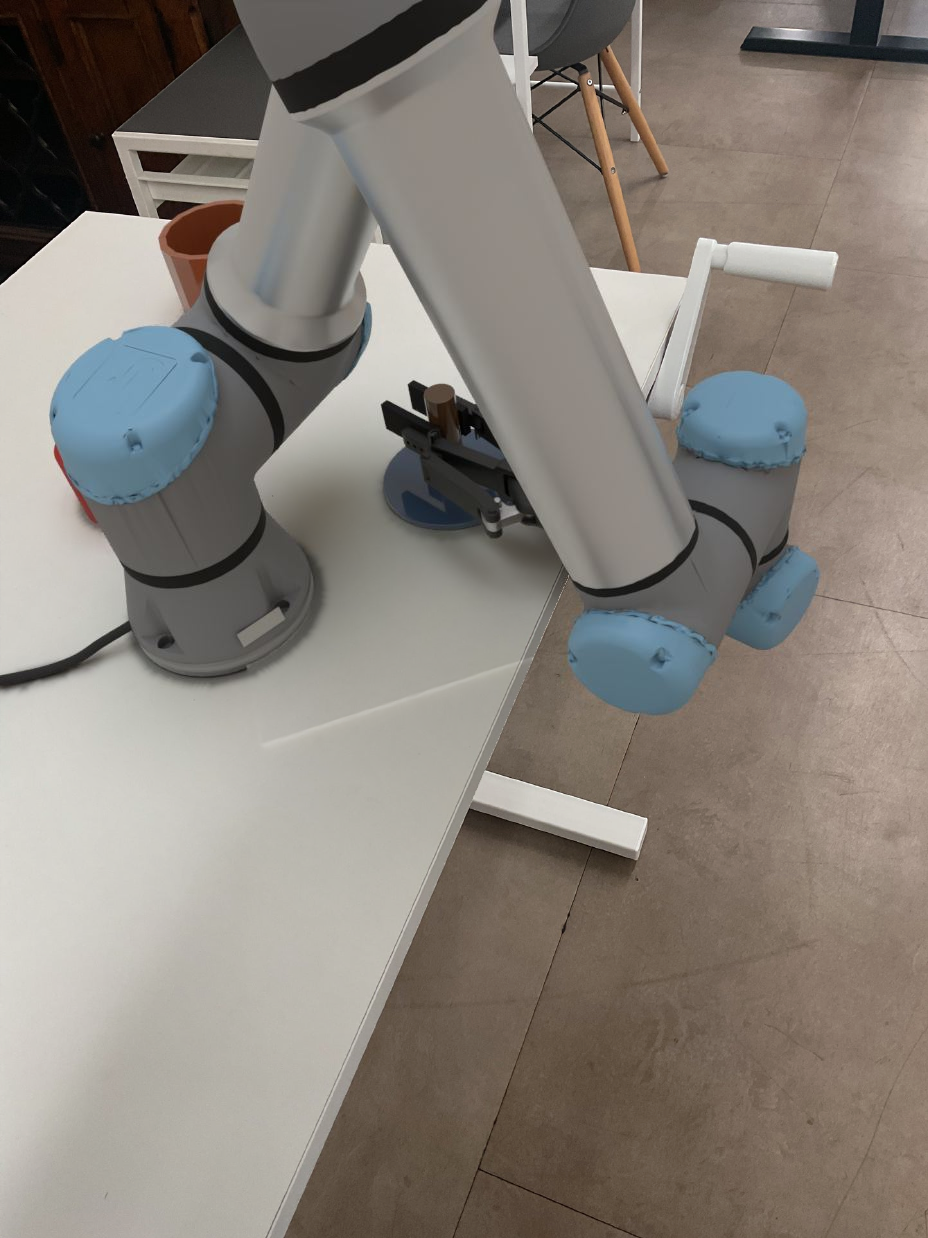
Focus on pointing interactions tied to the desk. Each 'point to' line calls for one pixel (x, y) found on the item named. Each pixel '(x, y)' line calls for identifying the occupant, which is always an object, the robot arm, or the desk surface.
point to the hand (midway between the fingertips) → (400, 404)
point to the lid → (406, 476)
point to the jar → (195, 244)
